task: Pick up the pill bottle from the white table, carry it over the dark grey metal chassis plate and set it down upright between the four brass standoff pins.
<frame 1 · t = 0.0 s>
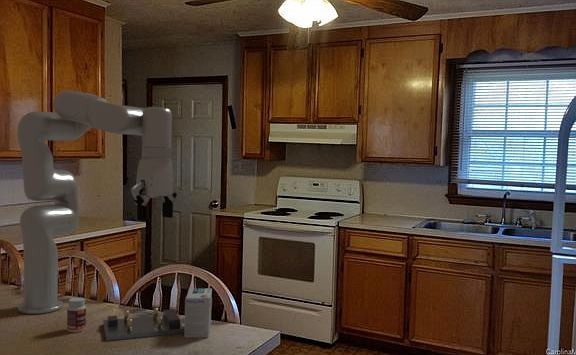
hand: (155, 218, 141), 31 cm above the table, tool pointing down, fingers open, 9 cm apart
pill bottle: (76, 330, 144), on the table
chassis: (142, 328, 147), on the table
light bulb box: (198, 332, 146), on the table
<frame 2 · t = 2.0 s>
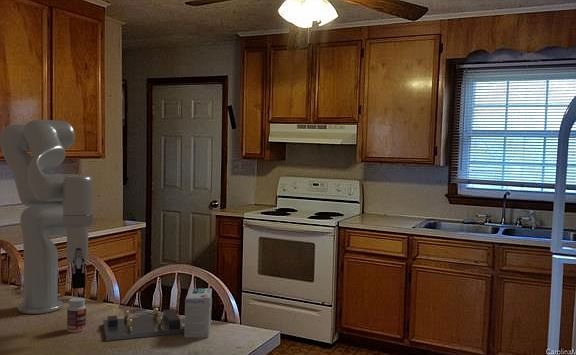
hand: (78, 284, 143), 13 cm above the table, tool pointing down, fingers open, 9 cm apart
nothing on the table moved.
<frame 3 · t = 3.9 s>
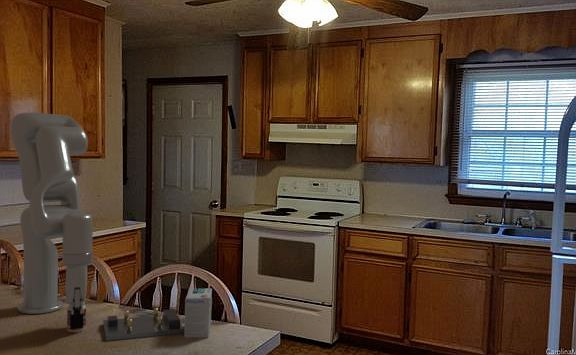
hand: (76, 324, 144), 1 cm above the table, tool pointing down, fingers closed on pill bottle, 4 cm apart
pill bottle: (76, 330, 144), on the table, touching gripper
everything else where it was.
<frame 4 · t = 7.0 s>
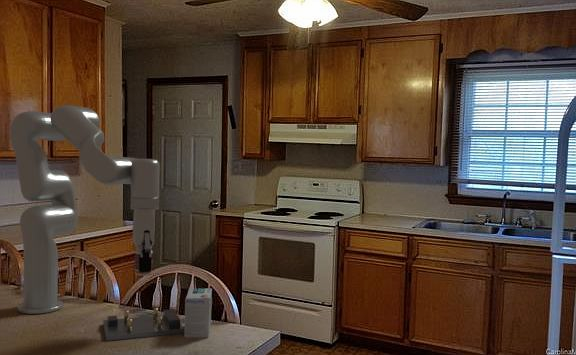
hand: (143, 269, 146), 17 cm above the table, tool pointing down, fingers closed on pill bottle, 4 cm apart
pill bottle: (143, 274, 146), point 15 cm above the table, touching gripper
everything else where it was.
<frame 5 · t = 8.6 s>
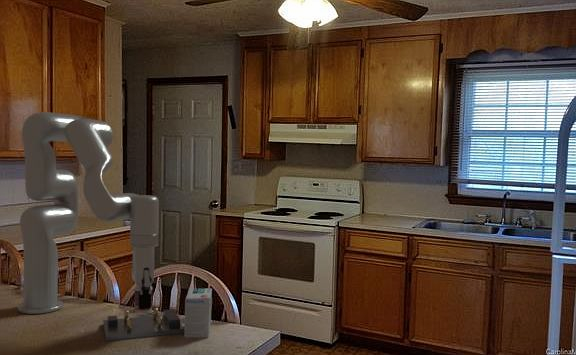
hand: (143, 305, 146), 7 cm above the table, tool pointing down, fingers closed on pill bottle, 4 cm apart
pill bottle: (143, 310, 147), point 5 cm above the table, touching gripper
everything else where it was.
when the fingers open (3 cm above the table, at t = 10.1 s): pill bottle stays where it is, resting on chassis.
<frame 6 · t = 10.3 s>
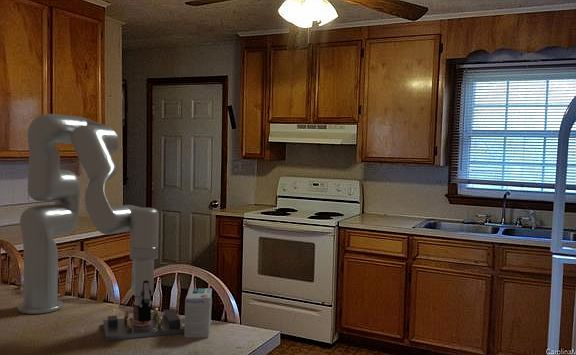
hand: (142, 316, 147), 3 cm above the table, tool pointing down, fingers open, 6 cm apart
pill bottle: (142, 324, 147), point 1 cm above the table, touching chassis
everything else where it was.
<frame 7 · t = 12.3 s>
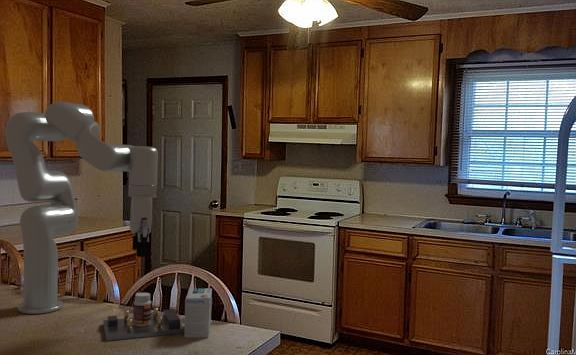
hand: (140, 252, 147), 21 cm above the table, tool pointing down, fingers open, 9 cm apart
nothing on the table moved.
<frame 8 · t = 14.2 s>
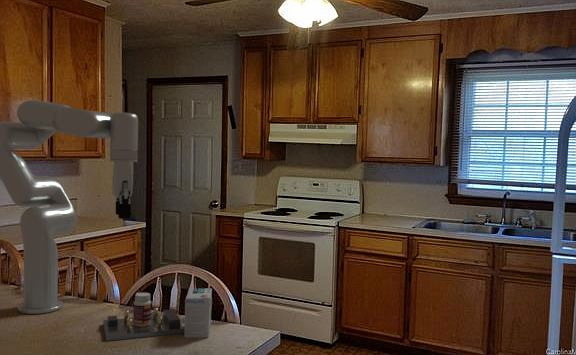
hand: (122, 216, 151), 30 cm above the table, tool pointing down, fingers open, 9 cm apart
nothing on the table moved.
at the end: pill bottle 0.2 cm off-centre on the chassis, point 1.0 cm above the chassis's base; pill bottle tilted 0°; the gripper is holding nothing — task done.
